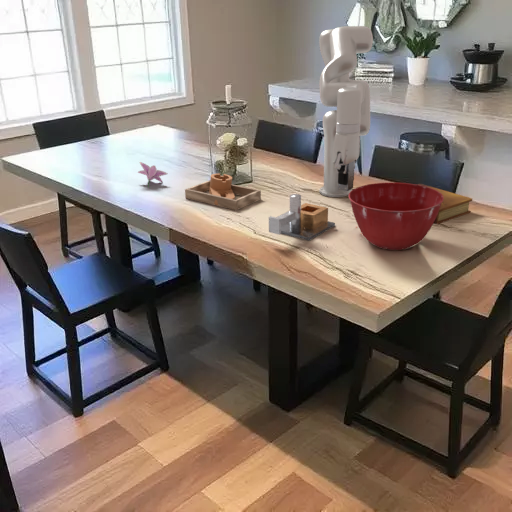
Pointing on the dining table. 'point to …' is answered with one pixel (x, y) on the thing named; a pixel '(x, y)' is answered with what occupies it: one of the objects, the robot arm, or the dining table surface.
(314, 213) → the grey stepped fixture
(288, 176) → the dining table surface
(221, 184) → the bracket
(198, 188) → the wooden tray
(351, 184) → the grey rectangular block
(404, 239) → the mixing bowl
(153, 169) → the lily
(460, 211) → the diary
